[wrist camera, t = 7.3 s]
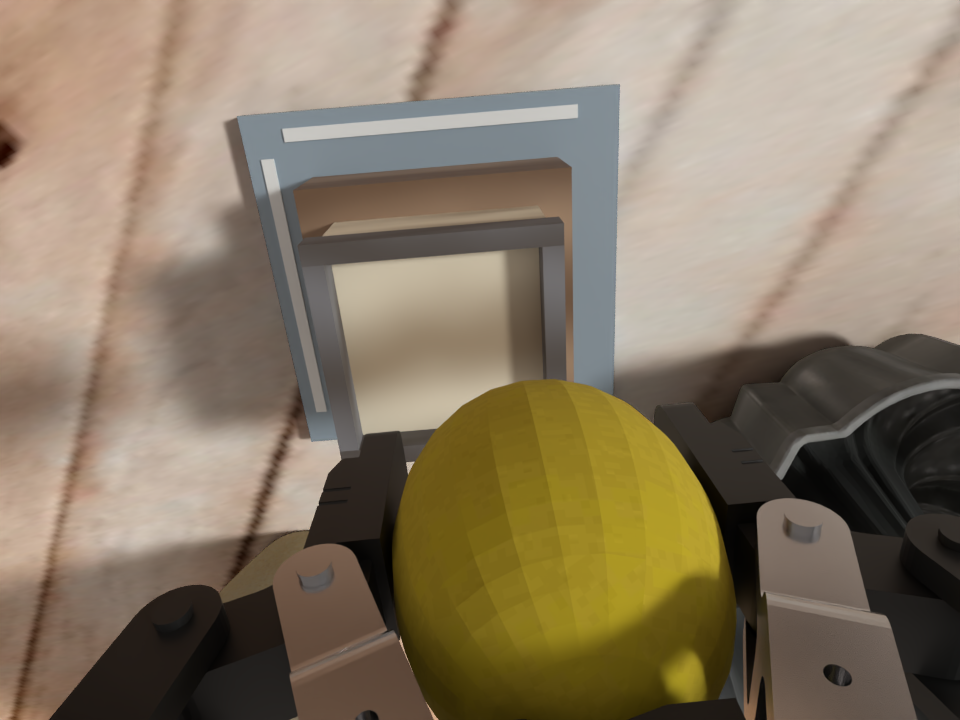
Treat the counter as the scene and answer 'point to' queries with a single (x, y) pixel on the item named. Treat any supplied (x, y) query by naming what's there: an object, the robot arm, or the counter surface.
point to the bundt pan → (859, 439)
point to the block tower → (436, 289)
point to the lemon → (559, 563)
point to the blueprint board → (434, 143)
